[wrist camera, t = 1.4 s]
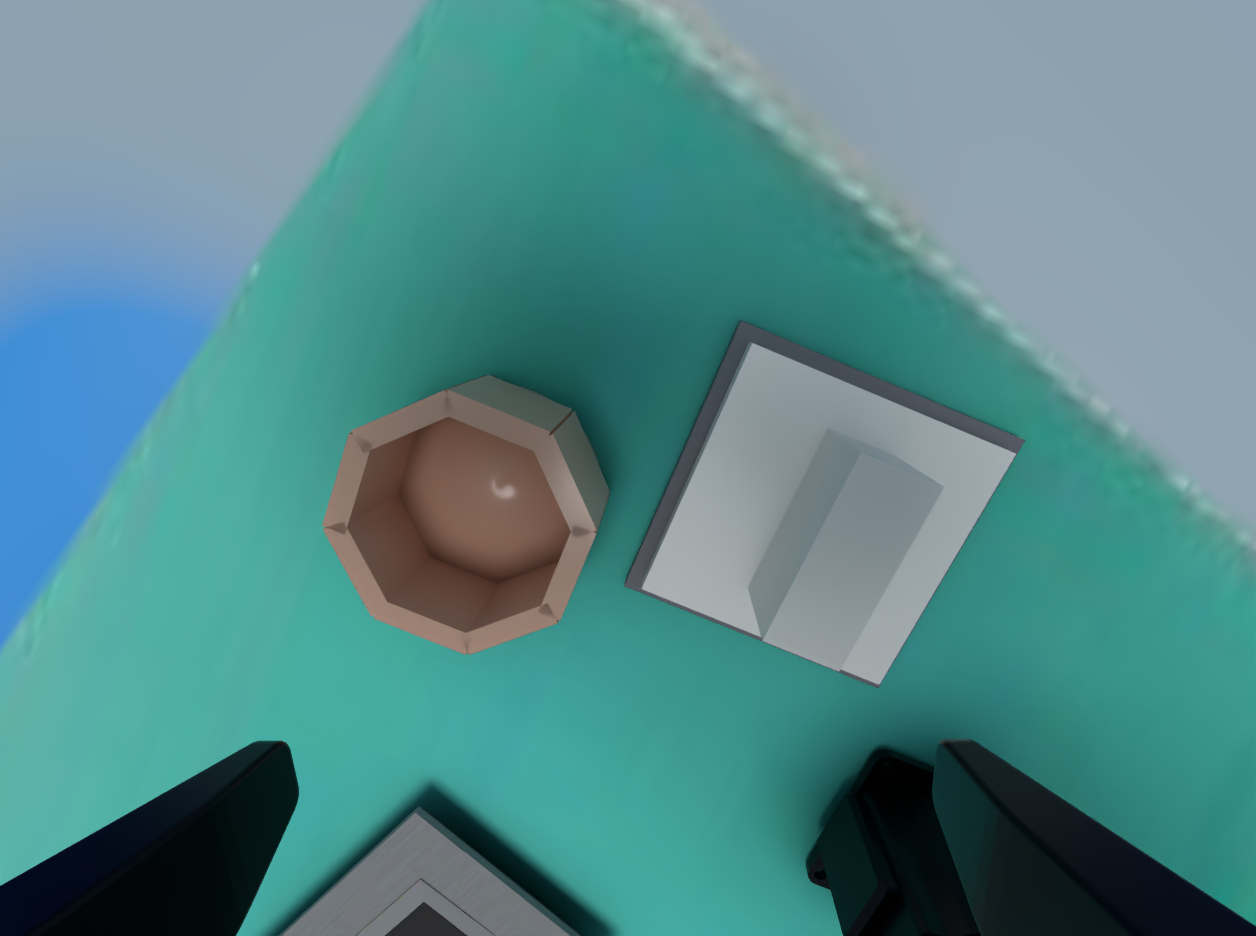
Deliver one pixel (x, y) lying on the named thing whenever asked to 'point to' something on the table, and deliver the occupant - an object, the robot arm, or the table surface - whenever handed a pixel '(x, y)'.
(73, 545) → the table surface
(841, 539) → the lid
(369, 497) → the bowl
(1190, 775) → the table surface
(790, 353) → the mat
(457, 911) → the electrical outlet
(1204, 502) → the table surface
